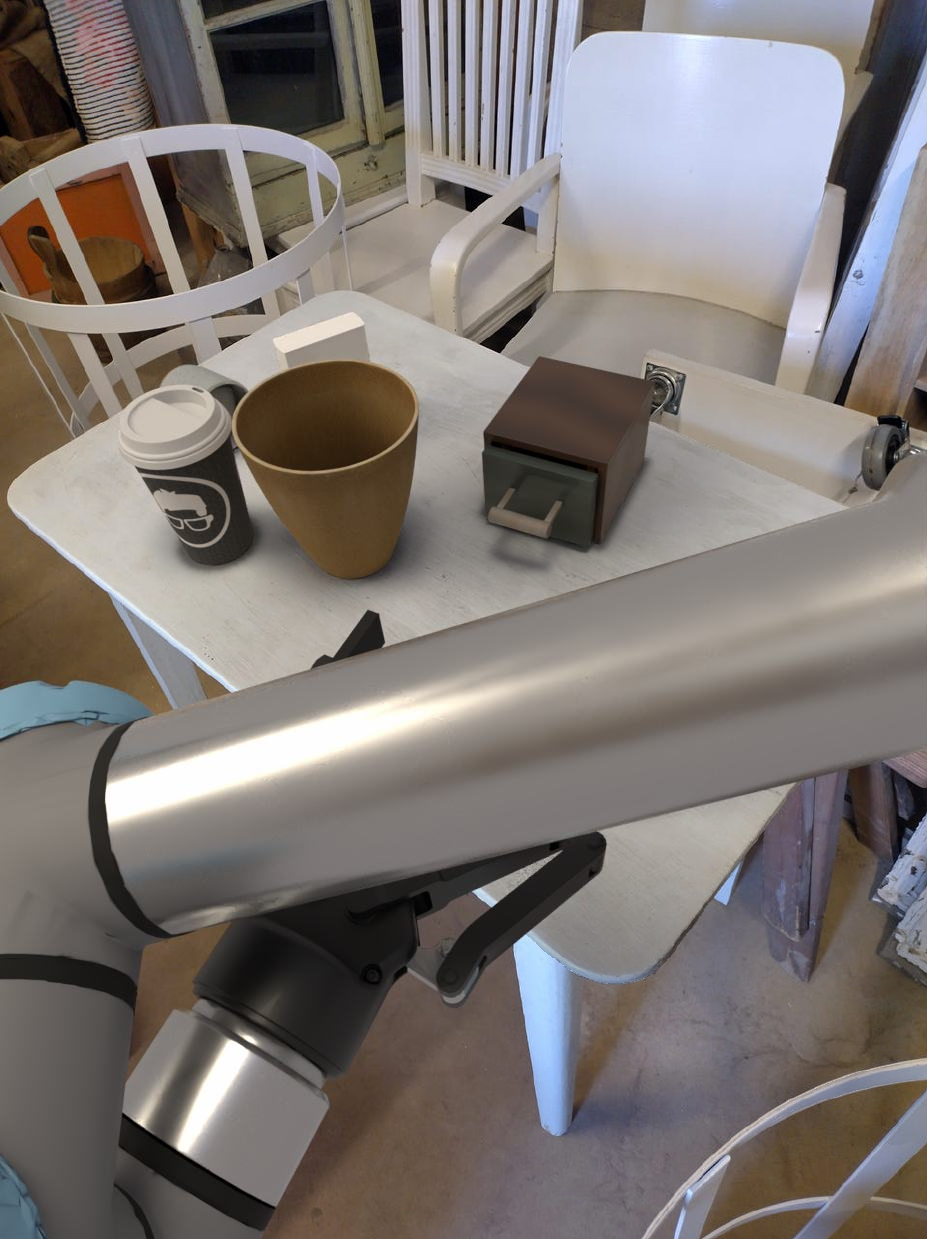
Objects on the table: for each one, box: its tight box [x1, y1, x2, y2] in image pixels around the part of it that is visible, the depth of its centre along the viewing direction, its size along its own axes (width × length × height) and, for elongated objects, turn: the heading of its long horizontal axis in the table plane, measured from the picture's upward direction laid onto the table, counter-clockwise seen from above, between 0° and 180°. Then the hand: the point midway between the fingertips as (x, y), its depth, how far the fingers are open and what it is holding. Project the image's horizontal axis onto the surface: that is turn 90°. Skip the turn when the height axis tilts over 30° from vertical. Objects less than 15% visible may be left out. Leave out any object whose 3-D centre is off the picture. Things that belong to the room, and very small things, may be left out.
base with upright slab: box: [272, 311, 371, 372], centre depth 84 cm, size 9×9×12 cm
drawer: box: [481, 443, 598, 548], centre depth 75 cm, size 16×10×8 cm, turn 154°
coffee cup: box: [117, 385, 254, 566], centre depth 73 cm, size 10×10×15 cm
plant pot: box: [232, 359, 420, 580], centre depth 71 cm, size 15×15×16 cm
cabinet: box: [482, 355, 656, 545], centre depth 77 cm, size 13×12×10 cm
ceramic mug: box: [158, 364, 250, 450], centre depth 86 cm, size 11×8×8 cm
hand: (481, 663), depth 45 cm, fingers open, 13 cm apart
